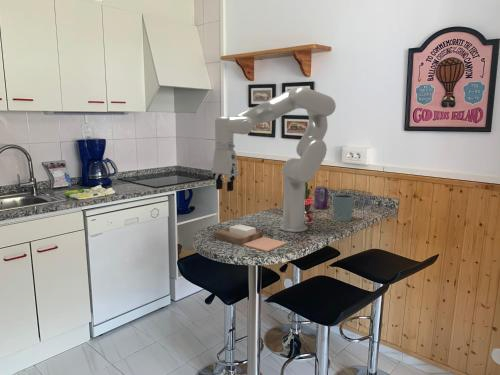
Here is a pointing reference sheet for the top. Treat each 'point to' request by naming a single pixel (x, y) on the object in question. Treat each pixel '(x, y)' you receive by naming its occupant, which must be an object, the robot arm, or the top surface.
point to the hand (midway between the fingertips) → (224, 189)
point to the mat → (265, 244)
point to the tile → (242, 230)
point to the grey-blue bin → (343, 207)
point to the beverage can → (321, 197)
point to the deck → (235, 236)
